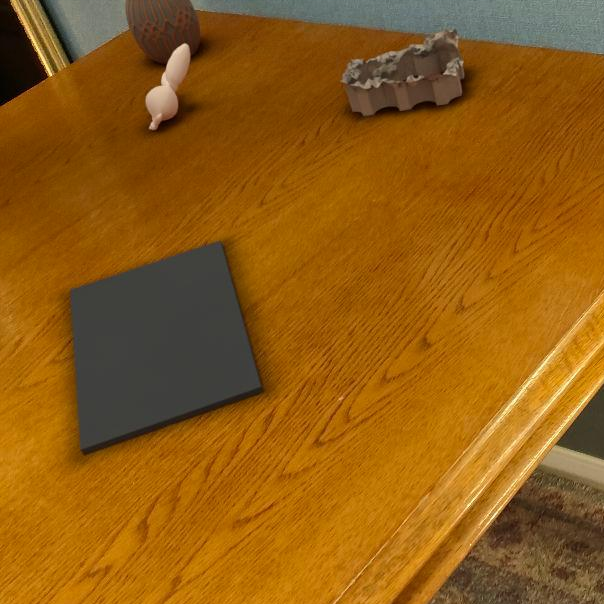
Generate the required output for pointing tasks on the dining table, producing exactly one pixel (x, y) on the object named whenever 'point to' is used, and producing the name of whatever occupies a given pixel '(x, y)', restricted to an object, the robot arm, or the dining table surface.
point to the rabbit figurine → (168, 87)
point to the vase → (163, 26)
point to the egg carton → (407, 76)
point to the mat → (159, 347)
